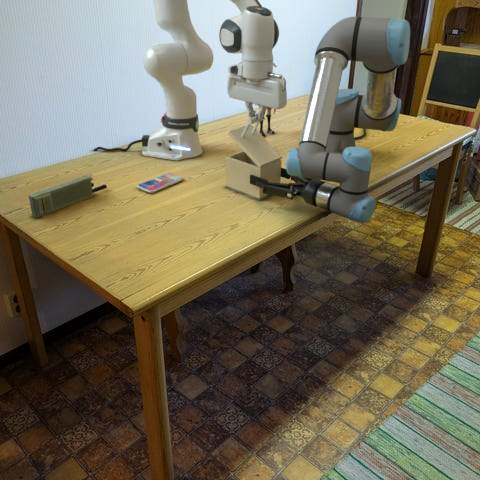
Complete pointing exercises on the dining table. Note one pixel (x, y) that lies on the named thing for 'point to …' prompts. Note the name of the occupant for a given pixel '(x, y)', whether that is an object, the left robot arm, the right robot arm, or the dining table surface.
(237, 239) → the dining table surface
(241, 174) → the chest
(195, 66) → the left robot arm
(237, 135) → the lid
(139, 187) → the smartphone
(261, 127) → the figurine
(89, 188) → the handheld radio
